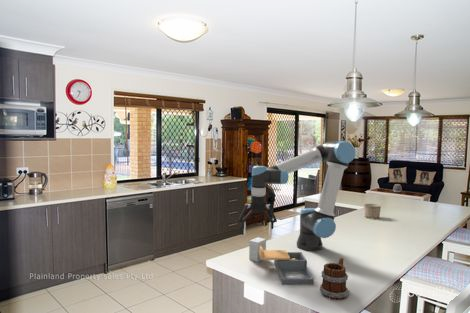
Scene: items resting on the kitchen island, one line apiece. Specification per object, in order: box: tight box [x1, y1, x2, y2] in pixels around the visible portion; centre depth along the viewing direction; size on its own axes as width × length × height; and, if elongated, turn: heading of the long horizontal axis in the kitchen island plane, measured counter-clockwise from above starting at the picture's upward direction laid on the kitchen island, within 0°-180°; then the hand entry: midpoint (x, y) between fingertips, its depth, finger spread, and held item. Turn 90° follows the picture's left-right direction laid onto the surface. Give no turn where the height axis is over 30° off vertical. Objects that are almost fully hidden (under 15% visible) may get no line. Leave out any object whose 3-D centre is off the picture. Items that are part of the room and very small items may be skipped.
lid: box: [259, 246, 290, 261], centre depth 166 cm, size 14×12×3 cm
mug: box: [319, 257, 350, 301], centre depth 140 cm, size 12×14×15 cm
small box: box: [248, 236, 267, 263], centre depth 179 cm, size 8×6×10 cm
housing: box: [273, 251, 315, 286], centre depth 160 cm, size 14×25×6 cm, turn 1°
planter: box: [363, 203, 382, 219], centre depth 274 cm, size 13×13×10 cm
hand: (257, 234), depth 178 cm, fingers open, 13 cm apart
